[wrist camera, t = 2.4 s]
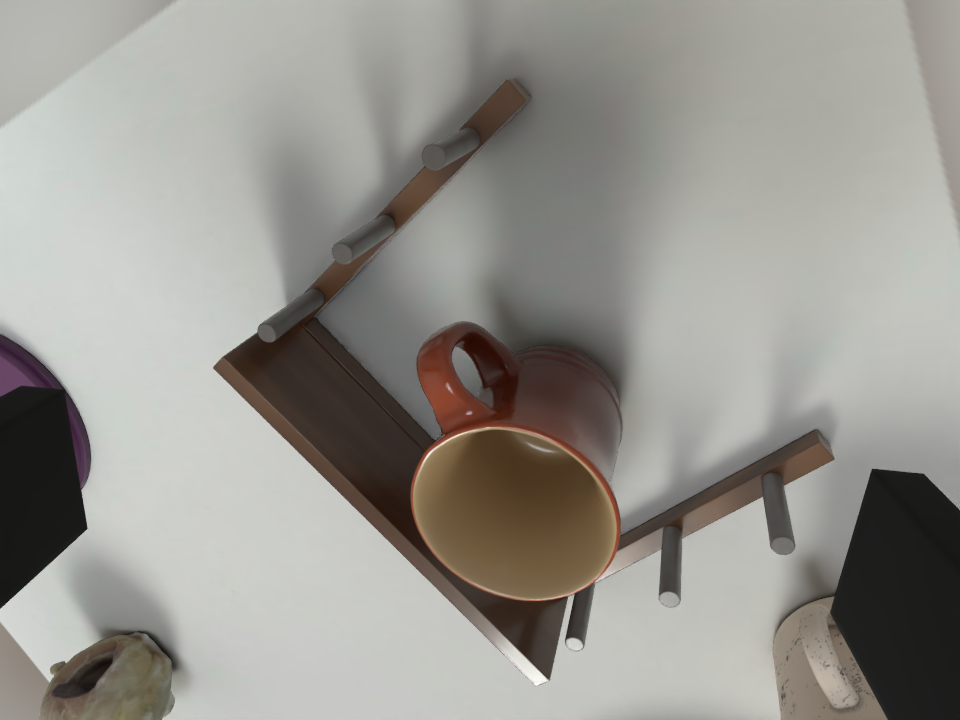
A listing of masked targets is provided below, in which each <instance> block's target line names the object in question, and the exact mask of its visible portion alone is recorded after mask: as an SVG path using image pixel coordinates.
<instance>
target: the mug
mask: <svg viewBox="0 0 960 720" xmlns="http://www.w3.org/2000/svg"><path fill="white" fill-rule="evenodd" d="M455 346H456V347H459V348H460V349H462V350H463V351H465V352H466V353H467V354H468V355H469V356H470V358H471V359H472V361H473V362H474V364H475V367H476V369H477V371H478V374H479V376H480V379H481V382H482V386H481V388H480V390H479V393H478V395H477V396H476V397H474V396H473V395H472V394H471V393H470V392H469V391H468V390H467V389H466V388H465V387H464V386H463V384H462V383H461V381H460V379H459V378H458V376H457V374H456V372H455V369H454V367H453V363H452V351H453V349H454V347H455ZM417 373H418V377H419V381H420V384H421V386H422V388H423V391H424V393H425V395H426V396H427V398H428V400H429V402H430V404H431V406H432V408H433V410H434V414H435V417H436V420H437V422H438V424H439V426H440V428H441V430H442V435H441V437H440V438H439V439H438V440H437V441H435V442H434V443H433V444H432V445H431V446H430V447H428V448H427V450H426V451H425V452H424V454H423V455H422V457H421V459H420V461H419V463H418V465H417V468H416V470H415V473H414V476H413V480H412V485H411V508H412V513H413V517H414V520H415V523H416V526H417V528H418V531H419V533H420V534H421V536H422V538H423V540H424V541H425V543H426V545H427V546H428V548H429V549H430V550H431V552H432V553H433V554H434V555H435V556H436V557H437V559H438V560H439V561H440V562H441V563H442V564H443V565H444V566H445V567H447V568H448V569H449V570H450V571H451V572H453V573H454V574H455V575H457V576H458V577H460V578H461V579H463V580H464V581H466V582H468V583H469V584H471V585H473V586H475V587H477V588H479V589H481V590H484V591H486V592H489V593H492V594H494V595H498V596H501V597H505V598H510V599H515V600H523V601H546V600H554V599H558V598H563V597H566V596H569V595H572V594H575V593H577V592H579V591H581V590H583V589H585V588H587V587H588V586H590V585H591V584H593V583H594V582H595V581H596V580H597V579H599V578H600V577H601V576H602V575H603V573H604V572H605V571H606V570H607V568H608V567H609V566H610V564H611V562H612V560H613V559H614V557H615V554H616V552H617V549H618V546H619V541H620V533H621V520H620V513H619V508H618V505H617V501H616V498H615V495H614V492H613V490H612V487H611V483H610V481H611V478H612V474H613V470H614V467H615V462H616V458H617V453H618V448H619V445H620V442H621V437H622V417H621V412H620V405H619V399H618V395H617V392H616V389H615V387H614V385H613V383H612V381H611V380H610V378H609V376H608V375H607V374H606V373H605V371H604V370H603V369H602V368H601V367H600V366H599V365H598V364H597V363H595V362H594V361H593V360H591V359H590V358H588V357H587V356H585V355H583V354H581V353H579V352H577V351H574V350H572V349H568V348H565V347H560V346H554V345H539V346H534V347H530V348H527V349H524V350H521V351H519V352H517V353H515V354H513V352H512V351H511V350H510V349H509V348H507V347H506V346H505V345H504V344H502V343H501V342H500V341H498V340H497V339H496V338H495V337H493V336H492V335H491V334H490V333H489V332H488V331H486V330H485V329H484V328H482V327H481V326H479V325H477V324H475V323H472V322H467V321H461V322H455V323H452V324H450V325H448V326H446V327H444V328H442V329H440V330H438V331H437V332H435V333H434V334H432V335H431V336H430V337H429V338H428V339H427V340H426V341H425V342H424V343H423V345H422V347H421V349H420V350H419V353H418V356H417Z"/></svg>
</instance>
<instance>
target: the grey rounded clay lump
mask: <svg viewBox="0 0 960 720" xmlns="http://www.w3.org/2000/svg"><path fill="white" fill-rule="evenodd" d="M171 667H172V662H171V660H170V659H169V658H168V657H167V655H166V654H164V653H163V652H162V651H161V650H160V648H159V647H158V646H157V645H156V643H155V642H154V641H153V640H151V639H150V638H149V637H148V635H147V634H142V633H140V632H136V633H134V634H131V635H120V634H119V635H117V636H114V637H110V638H106V639H104V640H101V641H99V642H97V643H95V644H93V645H92V646H90V647H88V648H87V649H85V650H83V651H81V652H80V653H78V654H76V655H75V656H74V657H73V658H72V659H71V660H70V661H68V662H67V663H65V661H62V662H59V663H56V664H54V665H53V666H52V667H51V668H50V672H51V674H52V675H54V677H53V678H52V680H51V682H50V684H49V686H48V688H47V690H46V693H45V695H44V698H43V701H42V704H41V708H40V718H39V720H162V718H163V717H164V716H166V715H168V714H169V713H170V712H171V710H172V708H173V706H174V703H175V697H174V696H173V694H172V692H171V677H172V672H171Z"/></svg>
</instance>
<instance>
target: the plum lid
mask: <svg viewBox="0 0 960 720" xmlns="http://www.w3.org/2000/svg"><path fill="white" fill-rule="evenodd" d="M21 385H22V386H32V387H42V388H52V389H63V387H62V386H61V385H60V384H59V382H58V381H57V380H56V379H55V378H54V376H53V375H52V374H51V373H50V372H49V371H48V370H47V369H46V368H45V367H44V366H43V365H42V364H41V363H40V362H39V361H38V360H36V359H35V358H34V357H33V356H32V355H31V354H29V353H28V352H27V351H25V350H24V349H23V348H21V347H20V346H18V345H17V344H15V343H14V342H12V341H10V340H9V339H7V338H5V337H3V336H1V335H0V397H1V396H3V395H4V394H6V393H8V392H10V391H12V390H14V389H16V388H18V387H19V386H21ZM63 390H64V389H63ZM65 396H66V402H67V408H68V414H69V420H70V426H71V432H72V438H73V444H74V450H75V456H76V462H77V468H78V474H79V480H80V486H81V489H82V488H83V486H84V485H85V482H86V480H87V478H88V475H89V470H90V460H91V456H90V446H89V442H88V437H87V433H86V431H85V428H84V425H83V422H82V420H81V418H80V416H79V413H78V411H77V409H76V408H75V406H74V404H73V402H72V401H71V399H70V397H69V396H68V395H67V393H66V392H65Z"/></svg>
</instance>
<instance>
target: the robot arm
mask: <svg viewBox="0 0 960 720" xmlns="http://www.w3.org/2000/svg"><path fill="white" fill-rule="evenodd" d="M86 530H87V523H86V517H85V510H84V504H83V498H82V492H81V486H80V480H79V474H78V468H77V462H76V456H75V450H74V444H73V438H72V432H71V426H70V420H69V414H68V408H67V402H66V396H65V390H63V389H52V388H42V387H32V386H22V385H21V386H19V387H18V388H16V389H14V390H12V391H10V392H8V393H6V394H4V395H3V396H1V397H0V608H2V607H3V606H4V605H5V604H6V603H7V602H8V601H9V600H10V599H11V598H12V597H14V596H15V595H16V594H17V593H18V592H19V591H20V590H21V589H22V588H23V587H24V586H26V585H27V584H28V583H29V582H30V581H31V580H32V579H33V578H34V577H35V576H37V575H38V574H39V573H40V572H41V571H42V570H43V569H44V568H45V567H46V566H47V565H49V564H50V563H51V562H52V561H53V560H54V559H55V558H56V557H57V556H58V555H59V554H61V553H62V552H63V551H64V550H65V549H66V548H67V547H68V546H69V545H70V544H71V543H73V542H74V541H75V540H76V539H77V538H78V537H79V536H80V535H81V534H82V533H83V532H85V531H86ZM830 614H831V616H832V618H833V619H834V621H835V623H836V625H837V627H838V629H839V631H840V632H841V634H842V636H843V638H844V640H845V642H846V644H847V645H848V647H849V649H850V651H851V653H852V655H853V657H854V658H855V660H856V662H857V664H858V666H859V668H860V669H861V671H862V673H863V675H864V677H865V679H866V681H867V682H868V684H869V686H870V688H871V690H872V692H873V694H874V695H875V697H876V699H877V701H878V703H879V705H880V707H881V708H882V710H883V712H884V714H885V716H886V718H887V719H888V720H960V510H959V509H958V508H957V507H956V506H955V505H954V504H953V503H952V502H951V501H950V500H949V499H948V498H947V497H946V496H945V495H944V494H943V493H942V492H941V491H940V490H939V489H938V488H937V487H936V486H935V485H934V484H933V483H932V482H931V481H930V480H929V479H928V478H927V477H926V476H925V475H924V474H920V473H910V472H899V471H889V470H879V469H872V471H871V474H870V477H869V481H868V484H867V488H866V491H865V495H864V498H863V501H862V505H861V508H860V512H859V515H858V518H857V522H856V525H855V529H854V532H853V535H852V539H851V542H850V546H849V549H848V552H847V556H846V559H845V563H844V566H843V569H842V573H841V576H840V580H839V583H838V586H837V590H836V593H835V597H834V600H833V603H832V607H831V610H830Z"/></svg>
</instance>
